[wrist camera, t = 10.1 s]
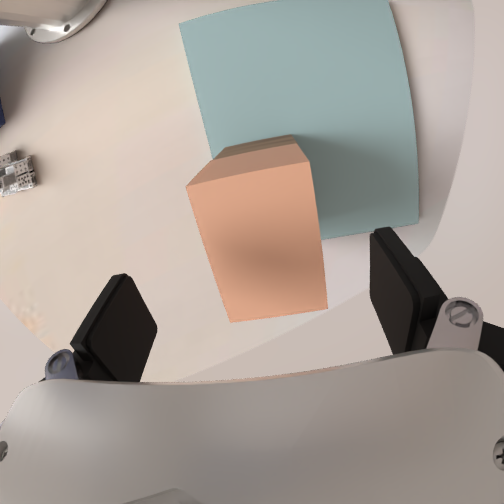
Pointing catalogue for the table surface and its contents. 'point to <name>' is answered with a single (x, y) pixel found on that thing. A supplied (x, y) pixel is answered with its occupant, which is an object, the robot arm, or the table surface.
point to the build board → (315, 100)
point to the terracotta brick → (261, 232)
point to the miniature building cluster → (16, 174)
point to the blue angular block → (1, 116)
